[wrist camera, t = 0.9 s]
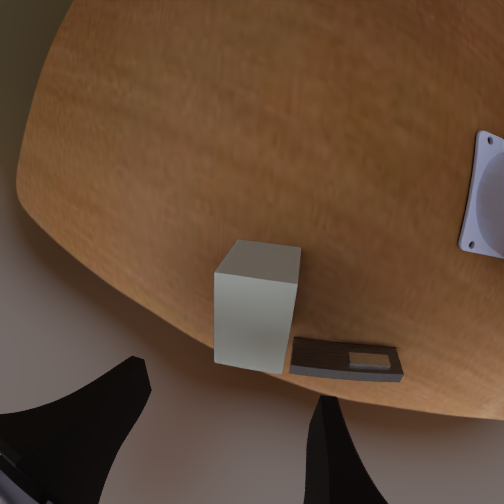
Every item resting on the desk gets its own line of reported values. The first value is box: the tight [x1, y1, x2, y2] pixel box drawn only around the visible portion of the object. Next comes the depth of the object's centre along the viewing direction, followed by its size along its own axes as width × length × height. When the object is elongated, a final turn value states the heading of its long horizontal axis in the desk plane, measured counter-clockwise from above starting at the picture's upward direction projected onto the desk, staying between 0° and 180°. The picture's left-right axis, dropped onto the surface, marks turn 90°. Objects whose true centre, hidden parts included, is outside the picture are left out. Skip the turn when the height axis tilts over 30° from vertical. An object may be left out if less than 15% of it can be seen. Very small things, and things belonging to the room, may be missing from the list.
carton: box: [214, 239, 301, 374], centre depth 17 cm, size 4×6×5 cm
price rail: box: [289, 337, 404, 382], centre depth 18 cm, size 8×1×3 cm, turn 86°
